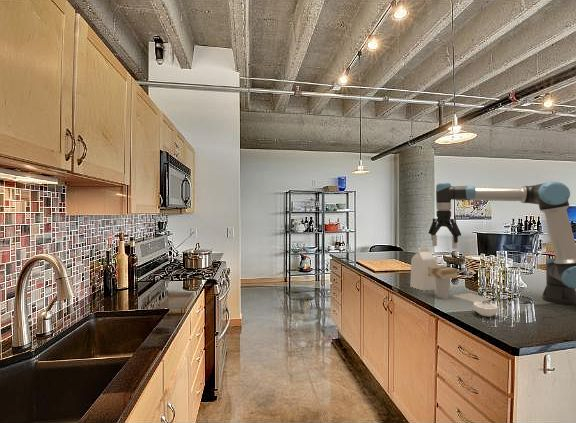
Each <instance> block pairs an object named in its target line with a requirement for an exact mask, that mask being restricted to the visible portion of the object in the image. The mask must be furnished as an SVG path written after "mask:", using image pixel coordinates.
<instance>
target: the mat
mask: <svg viewBox="0 0 576 423" xmlns="http://www.w3.org/2000/svg"><path fill="white" fill-rule="evenodd" d="M452 297H454V298H455V297H456V298H459V299H462V300H465V301H469V302H472V303H474V302H482V301H484V300H487V301H491V300H493V299H492V298H489V297H485V296H481V295H478V294H474V293H471V292H467V293H460V294H453V295H452Z"/></svg>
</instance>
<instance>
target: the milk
mask: <svg viewBox="0 0 576 423" xmlns="http://www.w3.org/2000/svg"><path fill="white" fill-rule="evenodd" d="M410 260H411V261H410V262H411V264H410V285H409V287H410V288H412V287H413V288H412V289H415V288H416V290H418V289H419V291H421V290H423V291H422V292H426V291H425V290H429V291H435V290H436V281H435V277H432V276H428V267H434V266H438V264H437V259H436V258H435V256H434V255H433V254H432V253H431V251H430V248H429V247H427V246H426V247H419V248H418V251H417V252H416V253H415V254H414V255H413V256H412V257H411V259H410Z"/></svg>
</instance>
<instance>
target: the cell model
mask: <svg viewBox="0 0 576 423" xmlns="http://www.w3.org/2000/svg"><path fill="white" fill-rule="evenodd" d="M473 309H474V312H477V313H478V314H479V315H480V316H482V317H489V318H490V317H493V316H495V315H496V314H498V312H499V309H500V308H499V306H498V305H497V304H495V303H492V302H490V300H484V301H480V302H473Z"/></svg>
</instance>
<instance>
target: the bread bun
mask: <svg viewBox="0 0 576 423" xmlns="http://www.w3.org/2000/svg"><path fill="white" fill-rule="evenodd" d="M428 276H432V277H436V278H440V279H450V278H451V279H457V278H458V268H455V267H449V266H445V265H444V266H443V265H437V266H434V267H428ZM451 279H450V280H451Z"/></svg>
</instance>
